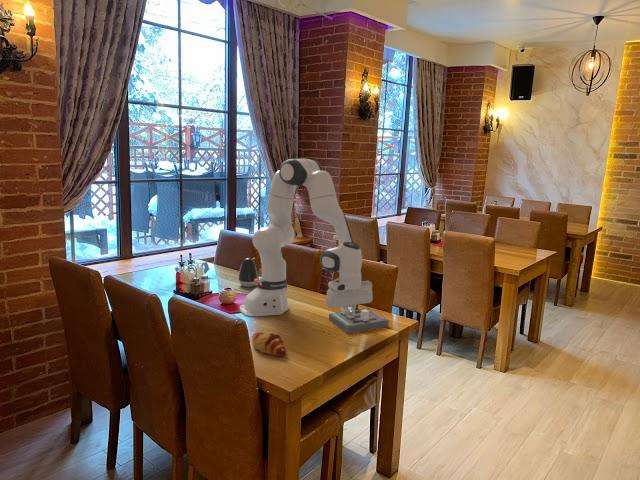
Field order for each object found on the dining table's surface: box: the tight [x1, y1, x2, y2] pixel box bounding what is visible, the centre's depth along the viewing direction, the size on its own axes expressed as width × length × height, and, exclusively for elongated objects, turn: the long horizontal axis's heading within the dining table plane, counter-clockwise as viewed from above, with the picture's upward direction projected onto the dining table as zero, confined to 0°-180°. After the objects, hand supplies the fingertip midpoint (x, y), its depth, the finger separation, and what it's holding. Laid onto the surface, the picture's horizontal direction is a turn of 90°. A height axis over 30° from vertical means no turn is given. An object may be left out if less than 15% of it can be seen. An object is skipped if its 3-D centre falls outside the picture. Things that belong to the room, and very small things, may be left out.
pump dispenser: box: [238, 257, 259, 288], centre depth 252 cm, size 10×10×15 cm
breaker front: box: [360, 308, 369, 321], centre depth 199 cm, size 2×3×4 cm
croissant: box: [251, 331, 287, 357], centre depth 176 cm, size 21×10×8 cm, turn 39°
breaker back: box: [340, 306, 349, 315], centre depth 206 cm, size 2×3×4 cm
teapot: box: [174, 259, 210, 274], centre depth 261 cm, size 15×15×11 cm
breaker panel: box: [328, 307, 389, 334], centre depth 204 cm, size 20×16×3 cm
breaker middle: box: [347, 307, 355, 319], centre depth 202 cm, size 2×3×4 cm
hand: (349, 315), depth 195 cm, fingers closed
